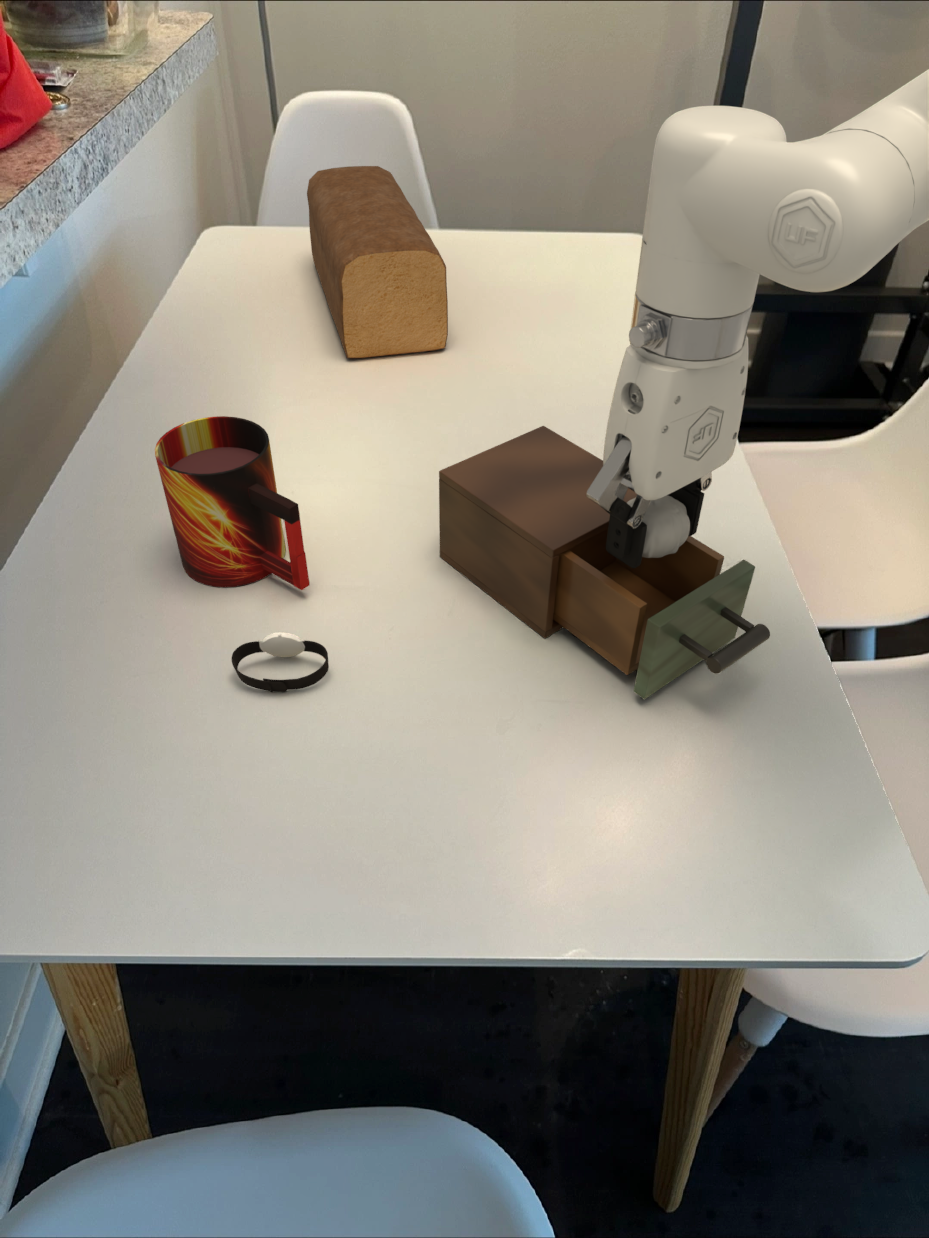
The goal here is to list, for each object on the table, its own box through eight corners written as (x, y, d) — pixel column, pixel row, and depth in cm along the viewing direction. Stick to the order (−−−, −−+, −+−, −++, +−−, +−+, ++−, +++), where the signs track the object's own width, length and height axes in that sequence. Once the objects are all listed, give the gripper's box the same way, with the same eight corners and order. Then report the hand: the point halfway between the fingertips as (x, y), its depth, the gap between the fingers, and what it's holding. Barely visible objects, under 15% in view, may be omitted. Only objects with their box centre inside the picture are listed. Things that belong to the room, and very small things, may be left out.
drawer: (776, 665, 75) (801, 593, 70) (685, 731, 70) (704, 658, 64) (619, 560, 85) (630, 490, 80) (528, 611, 80) (534, 540, 74)
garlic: (626, 575, 70) (635, 520, 66) (600, 535, 74) (607, 480, 70) (698, 563, 71) (710, 508, 68) (668, 523, 75) (678, 469, 72)
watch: (332, 654, 77) (328, 622, 74) (328, 695, 73) (323, 663, 71) (239, 655, 76) (233, 623, 74) (231, 697, 73) (223, 664, 70)
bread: (343, 363, 116) (334, 250, 106) (310, 263, 140) (300, 164, 131) (451, 352, 118) (450, 240, 109) (400, 256, 143) (396, 158, 133)
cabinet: (644, 580, 84) (660, 493, 78) (544, 639, 78) (553, 550, 72) (536, 508, 93) (543, 425, 86) (439, 556, 87) (438, 470, 80)
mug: (307, 601, 82) (292, 489, 74) (164, 579, 84) (134, 467, 76) (341, 537, 89) (330, 428, 81) (207, 518, 91) (184, 410, 83)
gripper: (643, 383, 54) (609, 612, 66) (815, 307, 62) (757, 524, 74) (554, 339, 58) (538, 562, 70) (726, 274, 66) (685, 484, 78)
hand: (651, 540), depth 72 cm, fingers closed on garlic, 5 cm apart
